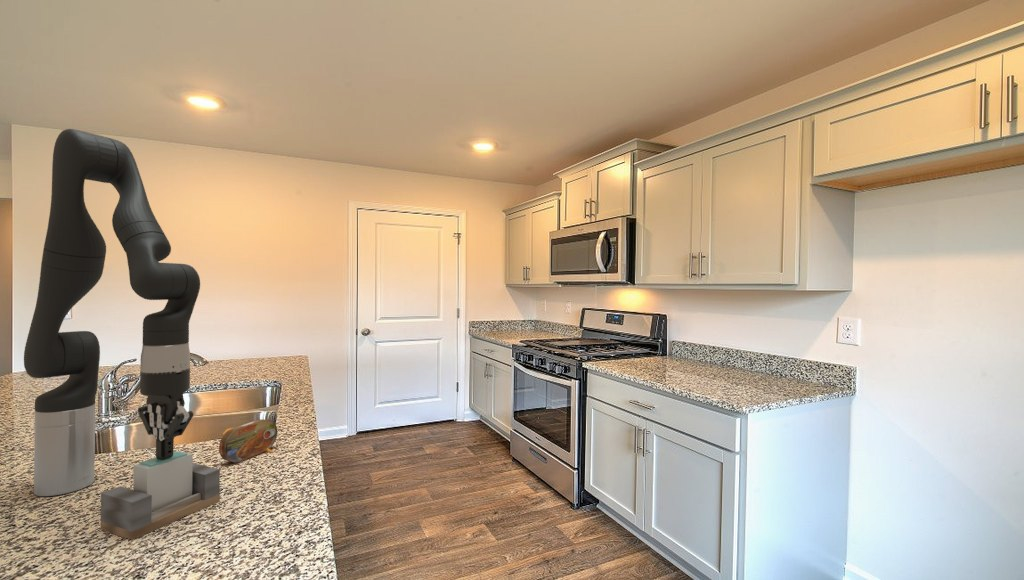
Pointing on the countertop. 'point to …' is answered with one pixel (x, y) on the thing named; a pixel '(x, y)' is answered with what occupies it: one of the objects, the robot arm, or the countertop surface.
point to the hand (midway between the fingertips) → (164, 458)
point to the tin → (248, 440)
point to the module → (165, 479)
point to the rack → (133, 509)
